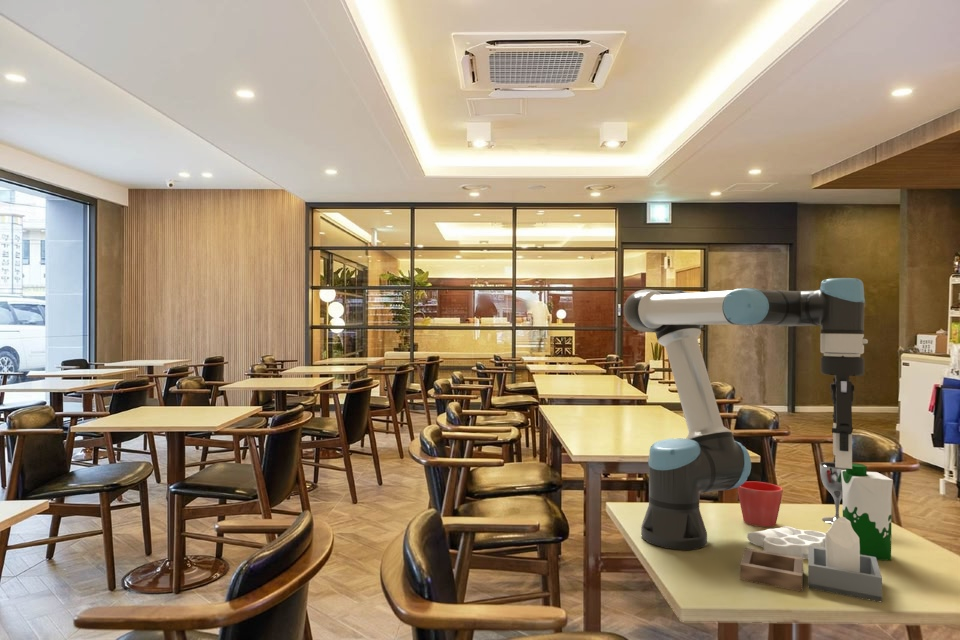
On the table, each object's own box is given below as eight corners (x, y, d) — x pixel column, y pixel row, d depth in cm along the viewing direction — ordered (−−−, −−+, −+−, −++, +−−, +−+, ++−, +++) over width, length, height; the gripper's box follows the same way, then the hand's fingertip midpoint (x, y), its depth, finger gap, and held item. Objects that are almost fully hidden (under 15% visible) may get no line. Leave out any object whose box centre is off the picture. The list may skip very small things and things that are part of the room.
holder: (740, 579, 120) (740, 564, 120) (745, 561, 129) (745, 547, 129) (802, 591, 114) (802, 576, 114) (803, 572, 124) (803, 557, 124)
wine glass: (861, 526, 154) (861, 468, 154) (830, 526, 154) (830, 468, 154) (843, 517, 162) (843, 462, 162) (814, 516, 162) (814, 461, 162)
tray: (808, 588, 116) (808, 565, 116) (808, 567, 126) (808, 546, 126) (882, 602, 110) (882, 578, 110) (876, 579, 120) (875, 557, 121)
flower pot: (747, 513, 164) (747, 478, 164) (789, 523, 156) (789, 486, 156) (729, 521, 157) (729, 484, 157) (772, 532, 149) (772, 493, 149)
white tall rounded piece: (830, 520, 117) (820, 512, 122) (831, 582, 116) (821, 571, 122) (864, 523, 115) (853, 514, 121) (865, 585, 115) (853, 573, 121)
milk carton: (837, 545, 140) (837, 460, 140) (880, 548, 138) (879, 462, 138) (852, 559, 131) (852, 468, 132) (898, 562, 129) (898, 471, 130)
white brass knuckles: (790, 535, 148) (847, 555, 135) (737, 545, 141) (791, 567, 127) (790, 521, 148) (847, 540, 135) (737, 530, 141) (791, 551, 127)
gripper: (869, 357, 106) (869, 476, 106) (859, 354, 128) (859, 452, 128) (821, 356, 110) (821, 471, 110) (819, 353, 132) (819, 448, 132)
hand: (842, 461), depth 119 cm, fingers open, 13 cm apart
